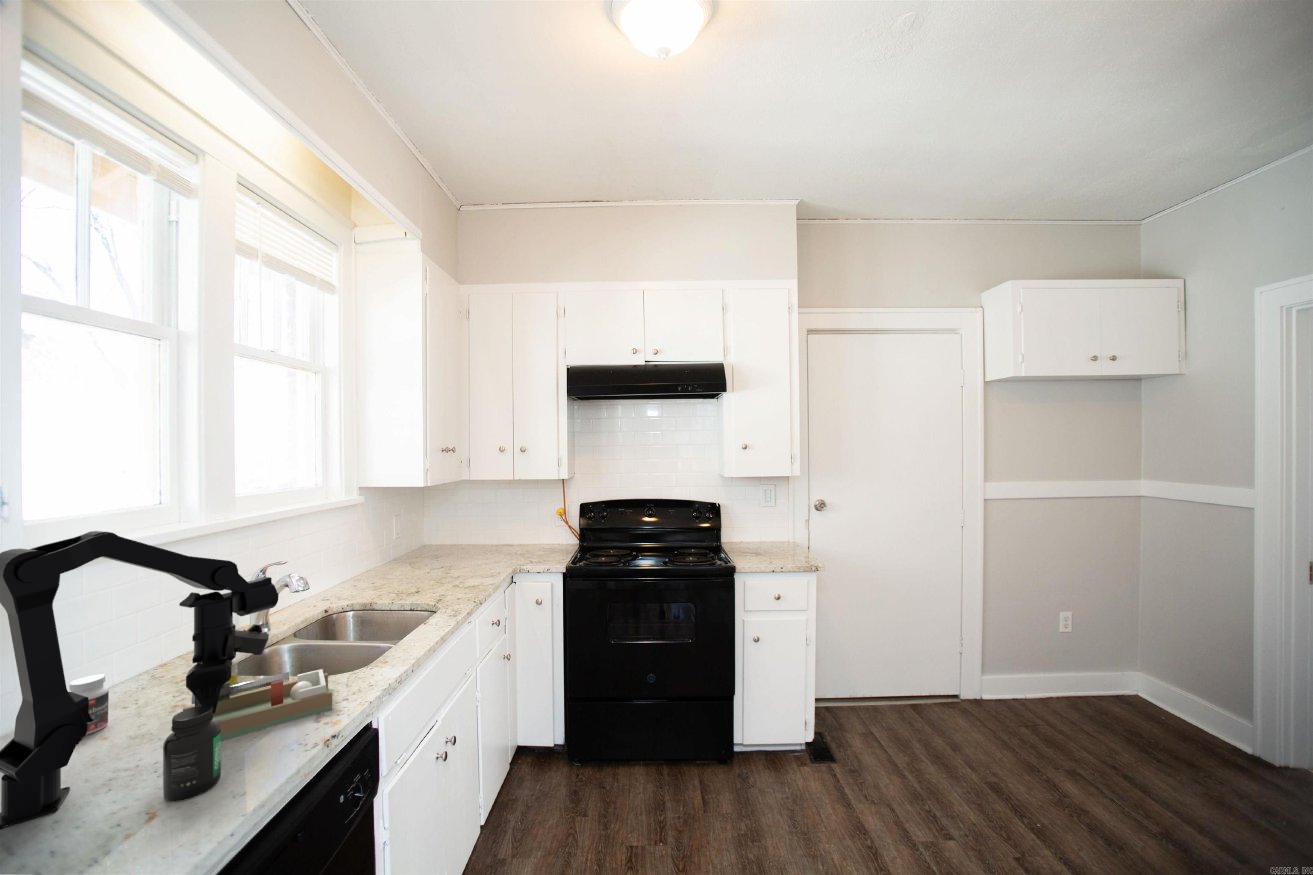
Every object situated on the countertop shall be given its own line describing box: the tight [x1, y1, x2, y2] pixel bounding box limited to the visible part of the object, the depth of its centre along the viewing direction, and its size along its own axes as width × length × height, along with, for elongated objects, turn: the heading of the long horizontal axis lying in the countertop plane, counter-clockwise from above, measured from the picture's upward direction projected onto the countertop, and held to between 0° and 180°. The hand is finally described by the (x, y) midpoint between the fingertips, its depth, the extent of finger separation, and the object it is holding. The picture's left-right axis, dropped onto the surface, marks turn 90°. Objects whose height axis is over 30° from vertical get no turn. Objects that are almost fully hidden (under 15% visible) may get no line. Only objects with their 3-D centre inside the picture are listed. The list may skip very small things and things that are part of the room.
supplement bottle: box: [162, 705, 222, 802], centre depth 81 cm, size 7×7×12 cm
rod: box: [191, 671, 290, 707], centre depth 101 cm, size 4×15×7 cm, turn 127°
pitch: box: [182, 672, 333, 741], centre depth 102 cm, size 12×24×4 cm, turn 127°
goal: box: [296, 668, 326, 699], centre depth 108 cm, size 10×5×4 cm, turn 37°
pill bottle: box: [68, 673, 110, 736], centre depth 99 cm, size 6×6×10 cm
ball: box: [290, 681, 313, 701], centre depth 107 cm, size 4×4×4 cm
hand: (213, 704), depth 98 cm, fingers open, 9 cm apart
